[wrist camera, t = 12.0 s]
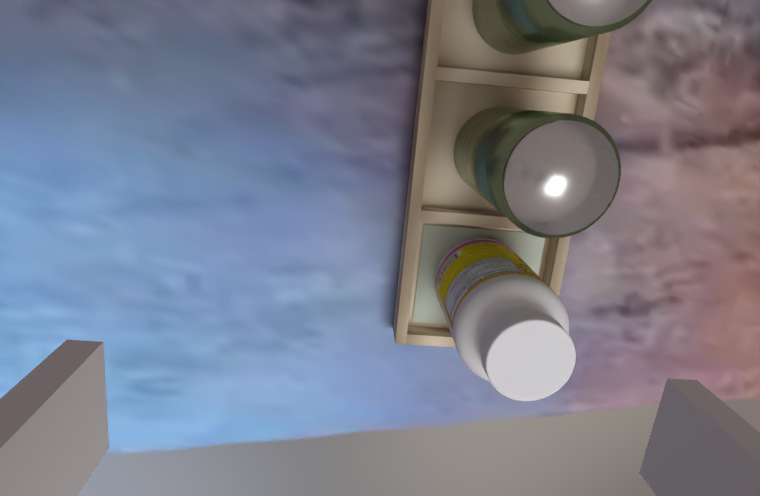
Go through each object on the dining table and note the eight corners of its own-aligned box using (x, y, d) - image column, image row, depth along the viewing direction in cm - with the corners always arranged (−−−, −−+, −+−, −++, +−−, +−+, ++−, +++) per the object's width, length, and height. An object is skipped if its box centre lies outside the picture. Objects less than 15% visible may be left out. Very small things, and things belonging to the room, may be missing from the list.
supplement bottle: (527, 308, 40) (601, 405, 27) (442, 327, 40) (477, 431, 28) (514, 225, 38) (589, 289, 25) (425, 245, 38) (456, 318, 26)
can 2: (448, 190, 37) (489, 235, 25) (459, 103, 35) (509, 108, 23) (530, 197, 37) (609, 245, 25) (545, 111, 36) (637, 119, 24)
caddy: (393, 328, 41) (395, 343, 39) (437, -89, 33) (442, -104, 31) (536, 338, 42) (547, 353, 39) (614, -69, 34) (634, -82, 31)
